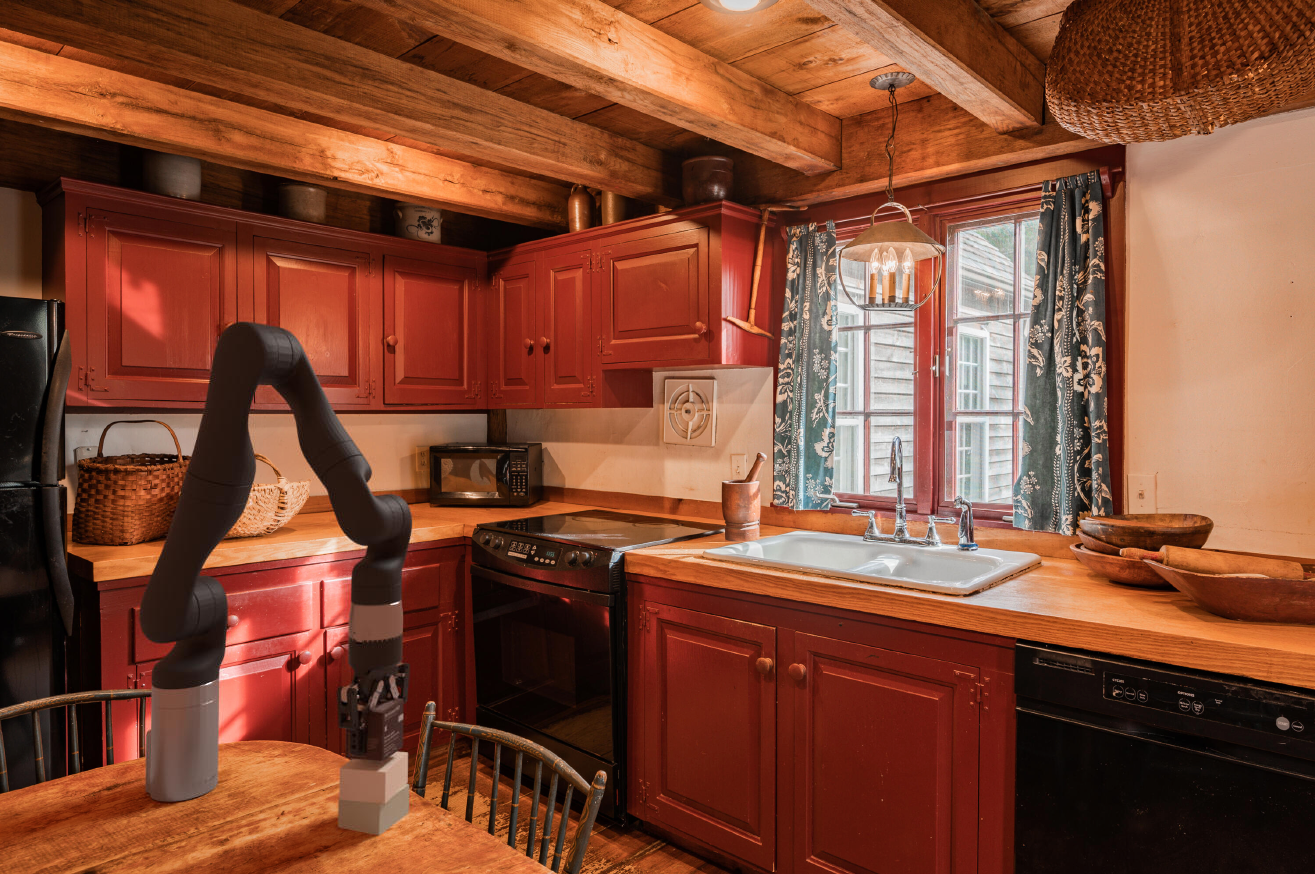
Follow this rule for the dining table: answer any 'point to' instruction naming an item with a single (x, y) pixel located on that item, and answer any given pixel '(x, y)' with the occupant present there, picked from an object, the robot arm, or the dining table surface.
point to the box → (381, 731)
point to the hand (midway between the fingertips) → (374, 744)
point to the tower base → (373, 813)
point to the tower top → (373, 779)
